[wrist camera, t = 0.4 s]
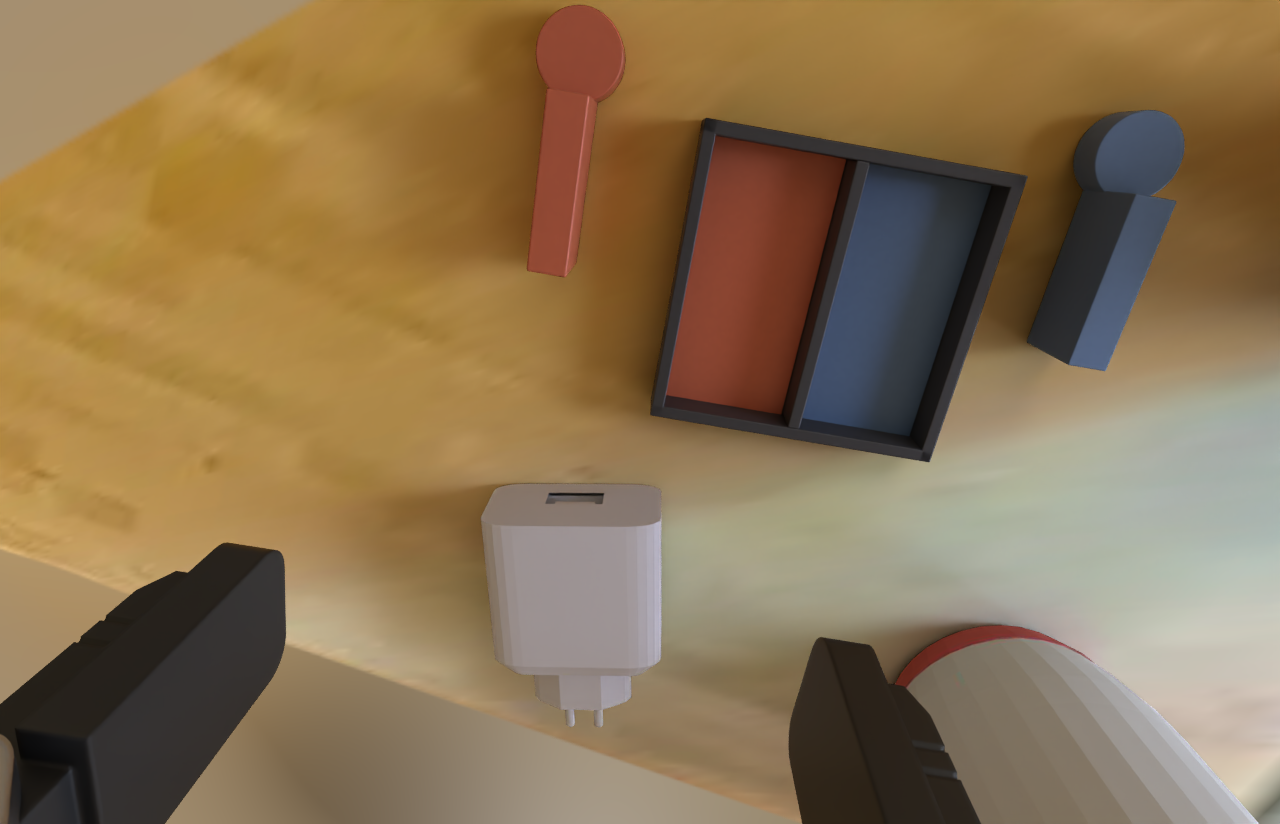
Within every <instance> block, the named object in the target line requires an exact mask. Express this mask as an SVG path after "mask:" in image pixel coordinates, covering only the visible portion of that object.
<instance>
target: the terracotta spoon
mask: <svg viewBox="0 0 1280 824" xmlns="http://www.w3.org/2000/svg"><path fill="white" fill-rule="evenodd" d="M536 61H537V66H538V69H539V72H540V75H541V77H542V79H543V80H544V82H545V84H546V85H547V86H548V87H549V88H547V90H546V98H545V107H544V116H543V125H542V134H541V143H540V152H539V162H538V171H537V180H536V189H535V198H534V207H533V216H532V225H531V234H530V244H529V253H528V262H527V270H528V271H531V272H537V273H543V274H549V275H554V276H560V277H566V276H567V274H568V273H569V272H570V270H571V269H572V268H573V267H574V265H575V264H576V262H577V254H578V247H579V239H580V232H581V225H582V217H583V210H584V202H585V195H586V187H587V180H588V172H589V165H590V157H591V150H592V142H593V135H594V128H595V120H596V113H597V105H598V102H600V101H602V100H604V99H606V98H607V97H608V96H610V95H611V94H612V93H613V92H614V90H615V89H616V88H617V86H618V85H619V83H620V81H621V79H622V76H623V73H624V69H625V50H624V46H623V42H622V40H621V37H620V35H619V33H618V30H617V29H616V27H615V25H614V24H613V23H612V21H611V20H610V19H609V18H608V17H607V16H606V15H605V14H603V13H602V12H600V11H599V10H597V9H595V8H592V7H589V6H585V5H572V6H568V7H565V8H562V9H560V10H558V11H557V12H555V13H554V14H553V15H552V16H551V17H550V18H548V20H547V21H546V22H545V24H544V25H543V27H542V29H541V31H540V33H539V36H538V39H537V44H536Z"/></svg>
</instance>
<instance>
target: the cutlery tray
mask: <svg viewBox="0 0 1280 824" xmlns="http://www.w3.org/2000/svg"><path fill="white" fill-rule="evenodd" d="M1027 177H1028V176H1026V175H1020V174H1015V173H1009V172H1004V171H998V170H993V169H987V168H982V167H976V166H970V165H965V164H959V163H954V162H948V161H943V160H937V159H932V158H926V157H921V156H915V155H909V154H904V153H898V152H893V151H887V150H882V149H876V148H871V147H865V146H860V145H854V144H849V143H843V142H837V141H832V140H826V139H821V138H815V137H810V136H804V135H799V134H793V133H788V132H782V131H777V130H771V129H765V128H760V127H754V126H749V125H743V124H738V123H732V122H727V121H721V120H716V119H710V118H705V119H704V120H703V121H702V124H701V130H700V135H699V141H698V146H697V152H696V157H695V162H694V168H693V173H692V179H691V184H690V190H689V195H688V201H687V206H686V211H685V217H684V222H683V228H682V233H681V239H680V244H679V250H678V255H677V260H676V266H675V271H674V277H673V282H672V288H671V293H670V299H669V304H668V309H667V315H666V320H665V326H664V331H663V337H662V342H661V348H660V353H659V358H658V364H657V369H656V375H655V380H654V386H653V391H652V396H651V410H650V415H652V416H658V417H664V418H670V419H676V420H682V421H687V422H693V423H699V424H705V425H711V426H717V427H723V428H729V429H735V430H741V431H747V432H753V433H759V434H765V435H771V436H777V437H782V438H788V439H794V440H800V441H806V442H812V443H818V444H824V445H830V446H836V447H842V448H848V449H854V450H860V451H866V452H871V453H877V454H883V455H889V456H895V457H901V458H907V459H913V460H919V461H925V462H930V460H931V457H932V454H933V451H934V448H935V445H936V442H937V439H938V436H939V433H940V431H941V428H942V425H943V422H944V419H945V416H946V413H947V410H948V407H949V404H950V401H951V399H952V396H953V393H954V390H955V387H956V384H957V381H958V378H959V375H960V372H961V369H962V367H963V364H964V361H965V358H966V355H967V352H968V349H969V346H970V343H971V340H972V337H973V335H974V332H975V329H976V326H977V323H978V320H979V317H980V314H981V311H982V308H983V305H984V303H985V300H986V297H987V294H988V291H989V288H990V285H991V282H992V279H993V276H994V273H995V271H996V268H997V265H998V262H999V259H1000V256H1001V253H1002V250H1003V247H1004V244H1005V241H1006V239H1007V236H1008V233H1009V230H1010V227H1011V224H1012V221H1013V218H1014V215H1015V212H1016V209H1017V207H1018V204H1019V201H1020V198H1021V195H1022V192H1023V189H1024V186H1025V183H1026V180H1027Z"/></svg>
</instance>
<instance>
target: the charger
mask: <svg viewBox="0 0 1280 824" xmlns="http://www.w3.org/2000/svg"><path fill="white" fill-rule="evenodd" d="M481 524H482V534H483V544H484V554H485V564H486V574H487V584H488V593H489V603H490V613H491V623H492V633H493V643H494V652H495V659H496V660H497V661H498V662H500V663H501V664H503V665H504V666H506V667H507V668H509V669H511V670H512V671H514V672H515V673H518V674H524V675H534V681H535V694H536V697H537V698H538V699H539V700H540V701H542V702H544V703H547V704H549V705H551V706H554V707H556V708H559V709H561V710H565V714H566V725H567V726H569V727H572V726H573V725H575V719H574V710H594V725H595V726H596V727H601V726H602V725H603V710H604V709H607V708H610V707H613V706H616V705H619V704H621V703H624V702H626V701H627V700H629V699H630V698H631V676H637V675H640V674H642V673H644V672H645V671H646V670H648V669H649V668H651V667H652V666H654V665H655V664H656V663H658V662H659V661H660V659H661V490H660V489H658V488H656V487H652V486H647V485H637V484H513V485H506V486H502V487H499V488H496V489H495V490H494V492H493V494H492V496H491V498H490V500H489V502H488V504H487V506H486V508H485V510H484V512H483V514H482V516H481Z"/></svg>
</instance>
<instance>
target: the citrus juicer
mask: <svg viewBox="0 0 1280 824" xmlns="http://www.w3.org/2000/svg"><path fill="white" fill-rule="evenodd" d="M895 685H901V686H905V688H906V689H907V690H908V691H909V692H910V693H911V694H912V695H913V696H914V697H915V699H916V700H917V701H918V702H919V703H920V704H921V705H922V706H923V707H924V708H925V709H926V711H927V712H928V713H929V714H930V715H931V717H932V719H933V722H934V724H935V726H936V728H937V730H938V732H939V734H940V737H941V739H942V741H943V743H944V745H945V752H947V753H948V754H949V756H950V758H951V760H952V762H953V764H954V767H955V769H956V771H957V779H959V780H961V782H962V784H963V786H964V788H965V790H966V792H967V794H968V797H969V799H970V801H971V803H972V805H973V807H974V810H975V812H976V814H977V816H978V818H979V820H980V822H981V824H1259V823H1258V822H1257V821H1256V820H1255V818H1254V817H1253V816H1252V815H1251V814H1250V813H1249V812H1248V811H1247V809H1246V808H1245V807H1244V806H1243V805H1242V804H1241V803H1240V801H1239V800H1238V799H1237V798H1236V797H1235V796H1234V795H1233V793H1232V792H1231V791H1230V790H1229V789H1228V788H1227V787H1226V786H1225V784H1224V783H1223V782H1222V781H1221V780H1220V779H1219V778H1218V776H1217V775H1216V774H1215V773H1214V772H1213V771H1212V770H1211V768H1210V767H1209V766H1208V765H1207V764H1206V763H1205V762H1204V761H1203V759H1202V758H1201V757H1200V756H1199V755H1198V754H1197V753H1196V751H1195V750H1194V749H1193V748H1192V747H1191V746H1190V745H1189V743H1188V742H1187V741H1186V740H1185V739H1184V738H1183V737H1182V736H1181V735H1180V734H1179V733H1178V732H1177V731H1176V730H1175V729H1174V728H1173V727H1172V726H1171V725H1170V724H1169V723H1168V722H1167V721H1166V720H1165V719H1164V718H1163V717H1162V716H1161V715H1160V714H1159V713H1158V712H1157V711H1156V710H1155V709H1154V708H1153V707H1151V706H1150V705H1149V704H1148V703H1146V702H1145V701H1144V700H1143V699H1141V698H1140V697H1139V696H1138V695H1136V694H1135V693H1134V692H1133V691H1131V690H1130V689H1129V688H1128V687H1127V686H1125V685H1124V684H1123V683H1122V682H1120V681H1119V680H1118V679H1117V678H1115V677H1114V676H1113V675H1112V674H1110V673H1109V672H1107V671H1106V670H1104V669H1103V668H1101V667H1099V666H1098V665H1096V664H1095V663H1094V662H1093V661H1091V660H1090V659H1089V658H1088V657H1086V656H1085V655H1084V654H1083V653H1081V652H1079V651H1077V650H1075V649H1073V648H1071V647H1069V646H1067V645H1065V644H1063V643H1061V642H1059V641H1057V640H1055V639H1053V638H1051V637H1048V636H1046V635H1044V634H1041V633H1039V632H1036V631H1033V630H1029V629H1025V628H1022V627H1015V626H1004V625H996V626H981V627H976V628H972V629H968V630H963V631H960V632H957V633H955V634H952V635H950V636H947V637H944V638H942V639H940V640H939V641H937V642H935V643H934V644H932V645H930V646H929V647H927V648H925V649H924V650H923V651H922V652H921V653H919V654H918V655H917V656H916V657H915V658H914V659H912V660H911V662H910V663H909V664H908V665H907V666H906V668H905V669H904V670H903V671H902V672H901V674H900V676H899V678H898V680H897V682H896V683H895Z"/></svg>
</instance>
